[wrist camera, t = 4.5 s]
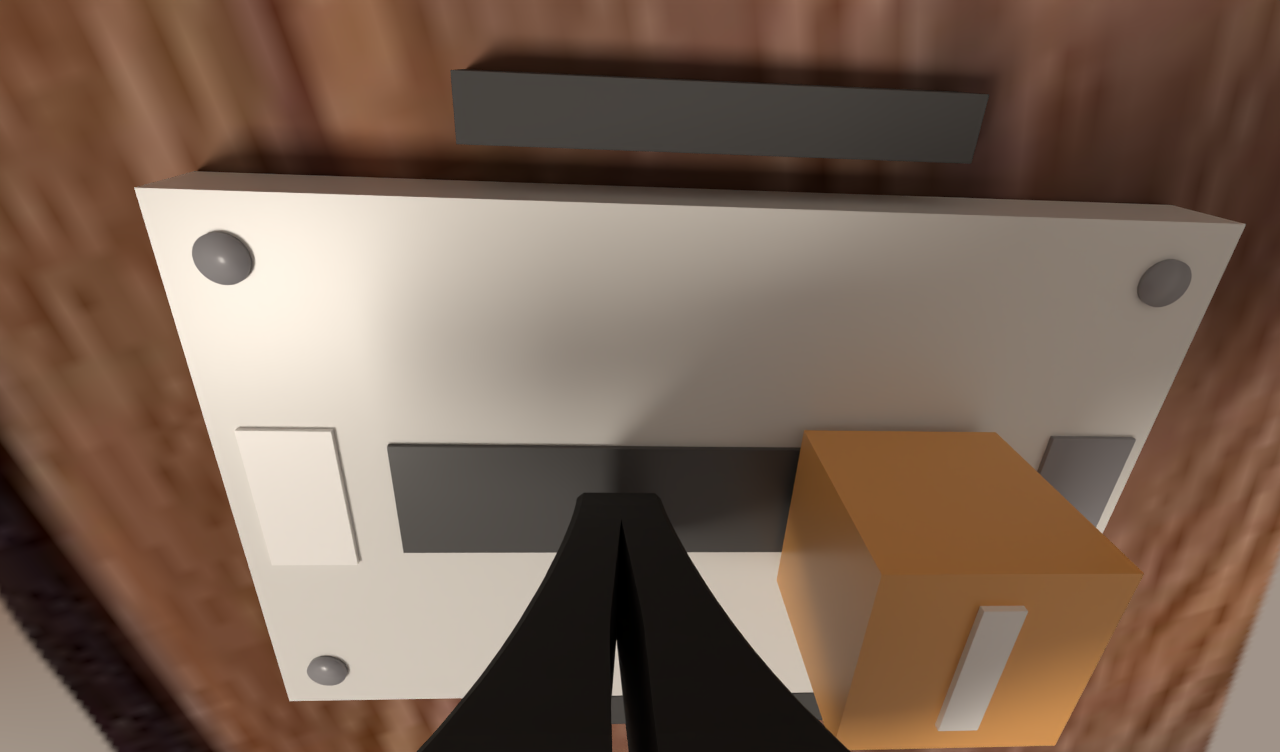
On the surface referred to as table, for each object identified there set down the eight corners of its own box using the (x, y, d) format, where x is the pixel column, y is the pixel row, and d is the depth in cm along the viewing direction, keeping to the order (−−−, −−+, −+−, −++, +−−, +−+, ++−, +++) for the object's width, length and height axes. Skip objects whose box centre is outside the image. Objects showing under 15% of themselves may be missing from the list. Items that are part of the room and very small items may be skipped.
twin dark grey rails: (813, 684, 17) (825, 719, 16) (509, 689, 16) (503, 725, 15) (956, 91, 10) (989, 94, 10) (464, 69, 10) (450, 69, 9)
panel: (995, 637, 16) (1032, 692, 15) (316, 645, 15) (287, 704, 14) (1171, 205, 12) (1251, 225, 10) (193, 170, 10) (129, 189, 9)
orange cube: (946, 579, 13) (1058, 751, 10) (776, 580, 13) (834, 757, 9) (995, 431, 11) (1149, 579, 8) (804, 430, 11) (883, 579, 8)
